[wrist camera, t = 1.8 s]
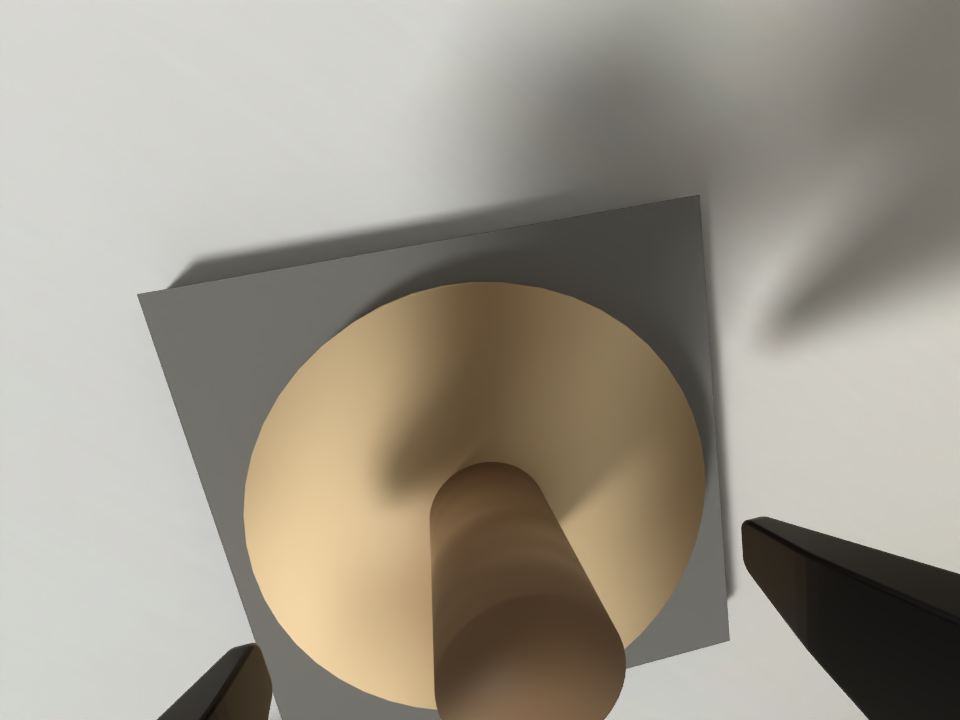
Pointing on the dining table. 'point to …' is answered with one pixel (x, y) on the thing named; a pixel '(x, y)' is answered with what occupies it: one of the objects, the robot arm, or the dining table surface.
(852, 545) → the robot arm
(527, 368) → the lid
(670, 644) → the mat
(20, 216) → the dining table surface
